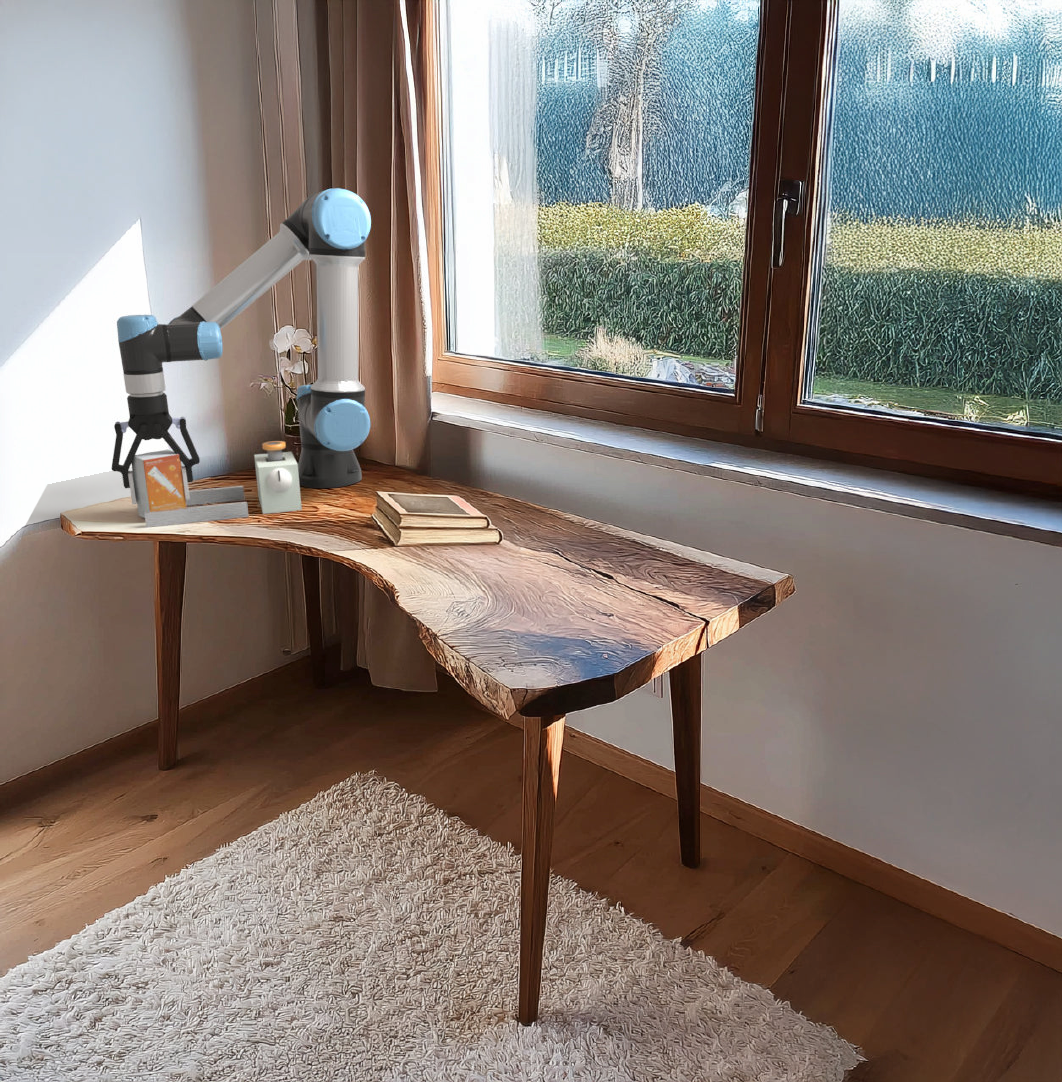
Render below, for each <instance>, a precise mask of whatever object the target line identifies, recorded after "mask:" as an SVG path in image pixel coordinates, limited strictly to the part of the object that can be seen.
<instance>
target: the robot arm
mask: <svg viewBox="0 0 1062 1082" xmlns="http://www.w3.org/2000/svg"><path fill="white" fill-rule="evenodd" d="M371 218H372V217H371V212H370V211H369V208H368V206H367V204H366V202H365V201H364V200H363V199H362V198H361V197H360V196H359V195H357V193H354V192H353V191H351V190H348V189H344V188H340V187H337V188H329V189H326V190H319V191H317V192H314V193H312V194H310V195H309V196H308V197H307V198H306V199H305V200H304V201H303V202H302V203H301V204H300V205H299V206H298V207H297V208H296V209H295V210H294V211H293V212H292V213H291V214H290V215H289V216H288V217H287V218H286V219H285V220H284V221H283V222H281V223H280V224H279V231H278V232H277V233H276V234H275V235H274V236H273V237H272V238H270V239H269V240H268V241H266V243H264V244H263V245H262V246H261V247H260V248H259V249H257V250H256V251H255V252H253V254H251V255H250V256H249V257H247V259H245V260H244V261H243V262H242V263H240V264H239V265H238V266H237V267H236V268H235V269H234V270H233V271H231V272H230V273H229V274H228V275H226V276H225V277H224V278H222V280H221V281H219V282H218V283H217V284H216V285H215V286H213V287H212V288H211V289H210V290H208V292H207V293H205V294H204V295H203V296H202V297H200V299H198V300H197V301H196V302H195V303H193V304H191V306H190V307H189V308H188V309H186V310H185V311H184V312H183V313H182V314H180V315H178V316H177V317H174V318H173V319H172V320H170V321H169V323H167V324H165V323H164V324H161V323H158V321H157V318H156V317H157V316H155V315H153V314H130V315H124V316H123V315H122V316H120V317H119V318H118V319H117V321H116V328H117V329H116V331H117V338H118V347H119V352H120V359H121V365H122V366H121V367H122V370H123V371H122V372H123V373H122V374H123V381H124V387H125V392H126V394H128V396H127V397H126V400H127V407H128V408H127V409H128V414H129V418H128V421H123V422H122V421H116V422H115V423H114V426H113V428H114V431H115V442H114V448H113V456H112V462H111V471H112V472H117V473H118V472H119V473H120V474H121V475H122V482H123V487H124V489H130V496H131V504H132V505H137V499H136V492H135V485H134V477H133V471H132V470H130V467H131V466H132V464H131V463H132V461H133V459H134V456H135V455H137V454H136V453H137V451H138V449H139V447H140V445H141V442H142V441H143V440H144V441H149V440H150V441H151V440H161V439H163V441H164V442H165V443H167V445H168V446H169V447H170V449H171V451H173V452H174V453H175V454H179V458H180V460H181V464H183V465H181V466H182V474H183V482H184V490H185V497H186V499H190V496H189V491H190V490H189V483H193V481H194V475H193V471H192V470H193V468H192V467H193V466H195V465H199V463H200V462H201V460H200V456H199V454H198V451H197V449H196V447H195V445H194V442H193V440H192V437H191V435H190V434H189V433H190V432H189V431H188V429H187V428H188V427H187V419H186V417H185V416H181V417H172V416H171V415H170V413H169V404H168V398H167V396H168V395H167V394H166V393H165V391H166V382H165V373H164V368H163V363H173V362H189V361H209V360H215V359H220V358H222V356H223V350H224V349H223V338H222V332H221V330H223V328H225V327H226V326H227V325H228V324H230V323H231V322H232V321H233V320H234V319H236V318H237V317H238V316H239V315H241V313H243V312H244V311H245V310H246V309H248V307H250V306H251V305H252V304H253V303H254V302H256V301H257V300H258V299H259V298H260V297H261V296H263V295H264V294H265V293H266V292H268V290H270V289H271V288H273V286H274V285H276V284H277V283H278V282H279V281H281V280H282V279H283V278H284V277H285V276H287V274H289V273H290V272H291V271H292V270H294V269H295V268H296V267H297V266H298V265H299V264H301V263H302V262H303V261H313V262H314V263H315V265H316V325H317V327H316V328H317V329H316V330H317V332H316V333H317V336H316V337H317V338H316V339H317V340H316V341H317V379H316V381H315V382H314V383H313V384H303V385H300V386H298V387H297V389H296V399H295V400H296V402H297V413H298V422H299V434H300V444H301V452H300V455H299V460H298V463H297V464H298V474H299V485H300V486H302V487H303V488H304V487H305V488H309V489H310V488H312V489H332V488H334V489H335V488H340V487H346V486H351V485H355V484H357V483H359V482H360V481H362V478H363V477H362V475H363V474H362V469H361V467H360V463H359V461H358V458H357V456H356V454H355V451H354V450H355V449H357V448H358V447H359V446H361V445H362V444H363V443H364V442H365V440H366V439H367V437H368V436H369V434H370V429H371V418H370V414H369V412H368V410H367V408H366V388H365V386H364V385H363V384H362V383H361V382H360V380H359V266H360V264H361V263H363V261H365V259H366V240H367V238H368V237H369V234H370V231H371V227H372V225H371V224H372V219H371ZM172 425H175V428H176V429H178V430H180V434H181V436H182V438H183V441H184V443H185V445H186V447H187V451H188V452H189V454H190V457H191V458H189V457H188V456H187V455H186V453H185V452H184V451H183V450H182V448H181V447H180V445H179V444H178V443H177V442H176V441H175V439H174V438H173V436H172V434H170V432H169V429H171V426H172ZM128 428H130V429H131V430H132V432H134V433H135V436H134V439H133V442H132V444H131V447H130V449H129V450H128V453H127V455H126V458H125V460H124V463H123V464H120V459H121V454H122V453H121V452H122V447H123V439H124V434H125V433H126V432H127V429H128Z"/></svg>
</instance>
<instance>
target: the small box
mask: <svg viewBox="0 0 1062 1082" xmlns="http://www.w3.org/2000/svg"><path fill="white" fill-rule="evenodd" d="M182 466H183V465H182V462H181V460H180V458H179V454H175V453H174V451H173V450H170V449H163V450H162V449H161V450H157V451H149V452H144V453H140V454H135V456H134V459H133V461H132V463H131V469H132V470H131V471H133V477H134V485H135V492H136V499H137V504H136V505H137V511H138V516H139V517H141V518H143V519H145V514H144V512H145V511H155V510H165V509H175V508H186V507H188V506H186V498H185V489H184V482H183V474H182Z"/></svg>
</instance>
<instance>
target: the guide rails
mask: <svg viewBox="0 0 1062 1082" xmlns="http://www.w3.org/2000/svg"><path fill="white" fill-rule="evenodd" d="M189 496H190V499H186V506H187V505H188V506H187V507H186V508H175V509H165V510H155V511H145V512H144V514H145V518H144V520H145V527H146V528H153V527H163V526H172V525H181V524H183V525H184V524H191V523H192V524H193V523H199V522H200V523H203V522H213V521H222V520H232V519H241V518H249V509H248V507H249V506H248V502H247V501H245V500H246V499H245V489H244V485H235V486H224V487H213V488H204V489H191V490H189ZM185 498H186V497H185ZM229 502H230V503H229ZM207 503H209V504H210V505H209V504H207ZM218 503H219V504H218ZM197 504H198V505H197Z"/></svg>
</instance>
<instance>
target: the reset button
mask: <svg viewBox="0 0 1062 1082" xmlns="http://www.w3.org/2000/svg"><path fill="white" fill-rule="evenodd" d="M261 445H262V449H263V451H266V452H267V453H266V454H268V462H274V461H283V458H282V452H283V450H284V449H286V448H287V445H286V441H283V440H272V441H265V442H263V443H261Z"/></svg>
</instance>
